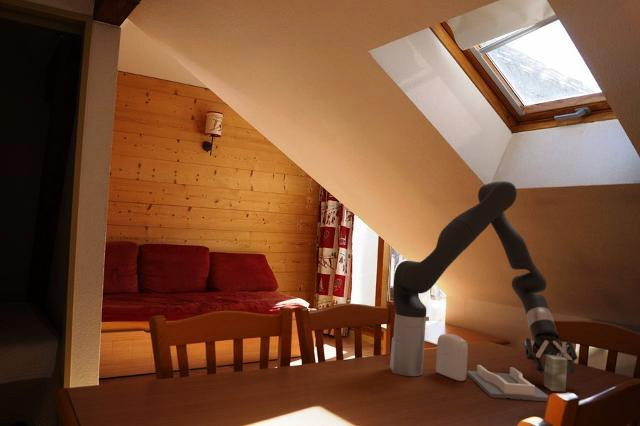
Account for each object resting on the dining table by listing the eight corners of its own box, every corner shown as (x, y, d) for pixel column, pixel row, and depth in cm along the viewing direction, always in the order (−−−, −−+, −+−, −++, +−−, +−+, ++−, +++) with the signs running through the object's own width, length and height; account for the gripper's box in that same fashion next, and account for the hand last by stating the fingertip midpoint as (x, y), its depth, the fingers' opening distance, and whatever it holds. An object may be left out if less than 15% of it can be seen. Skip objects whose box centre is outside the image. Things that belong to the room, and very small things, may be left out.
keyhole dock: (490, 397, 139) (491, 384, 139) (466, 373, 161) (467, 362, 161) (550, 401, 140) (551, 388, 140) (518, 377, 162) (518, 366, 162)
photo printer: (433, 372, 161) (436, 331, 161) (443, 371, 163) (446, 331, 163) (457, 382, 152) (460, 339, 152) (468, 380, 154) (471, 338, 154)
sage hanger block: (551, 390, 150) (553, 358, 150) (543, 385, 155) (545, 354, 155) (565, 391, 150) (567, 359, 150) (557, 386, 155) (559, 355, 155)
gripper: (523, 316, 161) (536, 364, 149) (569, 320, 161) (586, 367, 149) (515, 330, 166) (527, 377, 154) (560, 333, 166) (576, 381, 155)
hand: (556, 372), depth 152 cm, fingers open, 8 cm apart
